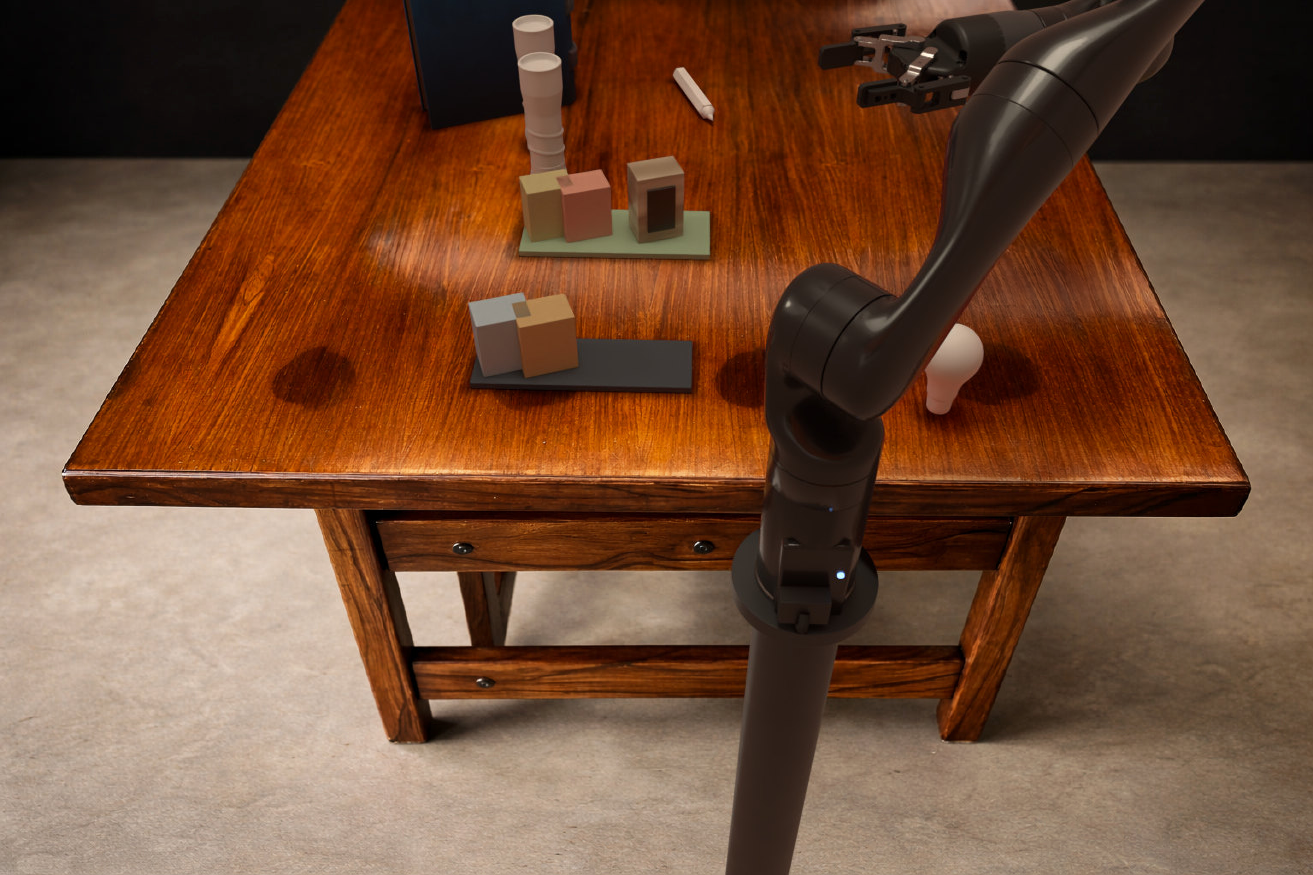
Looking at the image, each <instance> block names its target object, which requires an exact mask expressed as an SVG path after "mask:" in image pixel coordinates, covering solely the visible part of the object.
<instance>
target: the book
mask: <svg viewBox="0 0 1313 875" xmlns="http://www.w3.org/2000/svg"><path fill="white" fill-rule="evenodd" d="M402 3H403V9H404V15H405V20H406V27H407V31H408V38H409V43H410V50H411V54H412V55H411V56H412V61H413V66H414V71H415V78H416V82H417V84H416V85H417V89H418V95H419V100H420V105H421V110H422V111H423V112H425V111H427V112H428V113H427V114H428V118H429V123H430V128H431V130H432V131H433V130H438V129H444V128H449V127H454V126H459V125H460V126H461V125H466V124H471V123H476V122H477V123H478V122H482V121H488V120H493V119H498V118H503V117H504V118H505V117H510V116H515V115H521V114H525V111H524V106H523V104H522V103H523V97H522V93H521V88H520V78H519V67H518V59H517V55H516V50H515V42H514V32H513V26H512V24H513V22H514V21H515V20H516V19H517V18H520V17H523V16H527V15H542V16H546V17H549V18H550V19H551V20H552V21H553V30H554V44H555V51H554V55H557V56H558V57H559V58H560V59H561V70H562V85H563V89H562V102H561V107H563V106H569V105H571V104H573V103H574V102H575V101H576V99H577V93H576V92H577V91H576V78H575V77H576V76H575V67H576V66H577V65H578V63H579V62H578V46H577V43H576V42H575V41H574V40H573V29H572V14H571V13H572V12H573V11H574V10H575V0H402Z"/></svg>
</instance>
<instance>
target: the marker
mask: <svg viewBox="0 0 1313 875" xmlns="http://www.w3.org/2000/svg"><path fill="white" fill-rule="evenodd" d="M672 77H673V79H674V80H675V82H676V83H677V84H678V86H679V87H680V89H681V90H682V91H683V93H684V94H685V96H686V97H687V98H688V100H689V101H690V102H691V104H692V105H693V107H694V108H695V109H696V111H697V112H698V114H699V115H700V116H701V117H702V119H708V120H709V121H712V122H714V113H715V111H716V109H715V108H714V106H713V104H712V103H711V101H710V100H709V98H708V97H707V96H706V94H704V92H703V91H702V89H700V87H699V86H698V84H697V83H696V81H694V79H693V78H692V76H691V75H690V74H689V72H688V71H687V69H686V68H685V67H684V66H683V67H676V68H675V69H674V71H673V74H672Z"/></svg>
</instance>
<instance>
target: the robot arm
mask: <svg viewBox="0 0 1313 875" xmlns="http://www.w3.org/2000/svg"><path fill="white" fill-rule="evenodd" d="M1204 2H1205V0H1069V1H1066V2H1062V3H1060V4H1056V5H1051V6H1045V7H1037V8H1032V9H1023V10H1014V9H1013V10H1008V9H1007V10H1000V11H999V10H998V11H993V12H985V13H979V14H972V15H966V16H959V17H952V18H946V19H944V20H941V21H939V23H938V24H937V25H936V26H934V28H933V30H932V31H931V32H930V33H929V34H928V35H927V36H919V35H909V36H908V35H907V34H906V33H907V30H908V29H907V28H908V25H907V24H905V23H903V22H897V23H889V24H881V25H873V26H865V27H864V26H863V27H856V28H852V29H851V31H850V32H851V33H850V39H849V41H846V42H839V43H831V44H825V45H822V46H821V47H820V48H819V51H818V57H817V58H818V59H817V66H818V67H819V68H820V69H821V70H823V71H827V70H828V71H829V70H835V69H841V68H847V67H853V66H860V67H861V66H862V67H869V68H872V71H873V72H874V73H878V74H884V75H891V76H892V77H890V78H885V79H879V80H872V81H866V82H862V83H860V84H859V86H858V87H857V92H856V100H855V102H856V105H857V106H858V107H859V108H861V109H867V108H873V107H880V106H885V105H891V104H895V105H896V106H898V107H900V108H901V107H902V108H903V107H910V110H909V112H910V113H912V114H913V115H923V114H927V113H931V112H937V111H941V110H946V109H951V108H956V107H960V106H962V107H961V109H960V110H959V112H958V113H957V115H956V116H955V118H954V119H953V121H952V123H951V125H950V128H949V132H948V135H947V139H946V144H945V150H944V158H943V167H942V170H943V171H942V180H941V194H940V208H939V216H938V222H937V226H936V227H937V228H936V232H935V236H934V240H933V242H932V245H931V248H930V250H929V251H928V254H927V256H926V259H924V262H923V263H922V265H921V267H920V268H919V270H918V272H917V273H916V275H915V276H914V278H913V279H912V280H911V281H910V283H909V285H908V286H907V288H905V290H903V292H902V293H901V294H900V295H899V296H897V295H896V294H894V293H892V292H890V291H888V290H887V289H885V288H883V287H882V286H879V285H878V284H876V283H874V282H873V281H871V280H869V279H867V278H866V277H864V276H862V275H860V274H859V273H857V272H855V271H853V270H851V269H850V268H848V267H846V266H843V265H841V264H838V263H836V262H835V263H834V262H820V263H817V264H813V265H811V266H809V267H807V268H805V269H804V270H803V271H801V272H800V273H799V274H798V275H796V276H795V277H794V278H793V279H792V280H791V281H790V283H789V284H788V285H787V286H786V288H785V289H784V291H783V292H782V294H781V296H780V297H779V299H778V300H777V303H776V305H775V307H774V309H773V312H772V315H771V319H770V322H769V325H768V331H767V335H766V342H765V350H764V352H765V353H764V378H763V379H764V382H763V390H764V391H763V420H764V424H765V427H766V429H767V431H768V434H769V444H768V452H767V461H766V470H765V479H764V489H763V498H762V507H761V516H760V526H759V528H760V533H759V544H758V554H757V558H756V563H755V577H756V581H757V584H758V586H759V588H760V590H761V591H762V593H763V594H764V595H765V596H766V597H767V598H768V599H769V600H770V601H771V602H772V603H773V606H774V612H775V613H777V616H778V623H794V625H795V628H796V630H797V631H798V632H799V633H802V634H803V633H805V632H807V630H808V627H809V624H828V621H829V616H830V615H841V614H842V610H843V605H844V602H845V601H846V600H847V599H848V598H849V597H850V595H851V593H852V591H853V589H854V585H855V580H856V571H857V566H858V561H859V556H860V551H861V547H862V546H863V542H864V538H865V533H866V528H867V527H866V526H867V523H868V519H869V514H870V510H871V504H872V501H873V500H872V499H873V496H874V492H875V486H876V482H877V478H878V474H879V468H880V464H881V461H882V460H881V459H882V455H883V451H884V447H885V441H886V431H885V430H886V429H885V424H884V421H883V418H882V417H883V416H884V415H886V414H888V412H890V411H891V410H892V409H893V408H895V407H896V405H897V404H899V403H900V402H901V401H902V400H903V399H904V397H905V396H906V395H907V394H908V393H909V391H910V390H911V389H912V387H913V386H914V385H915V384H916V383H917V381H919V379H920V377H921V376H922V375H923V373H924V372H925V369H926V367H927V366H928V364H929V363H930V361H931V360H932V359H933V357H934V356H935V354H936V353H937V351H938V350H939V348H940V347H941V345H942V344H943V342H944V341H945V339H946V338H947V336H948V334H949V333H950V331H951V330H952V328H953V327H954V325H955V324H957V323H958V321H959V320H960V318H961V317H962V315H963V314H964V312H965V310H966V309H967V308H968V306H969V304H970V303H971V302H972V301H973V298H974V297H975V295H976V294H977V293H978V291H979V290H980V288H981V287H982V285H983V284H984V283H985V281H986V279H987V278H988V277H989V275H990V274H991V272H992V271H993V270H994V268H995V266H996V265H998V263H999V261H1000V260H1001V258H1002V257H1003V256H1004V255H1005V253H1006V252H1007V251H1008V249H1009V248H1010V247H1011V245H1013V243H1014V242H1015V240H1016V239H1017V238H1018V236H1020V234H1021V233H1022V232H1023V230H1024V229H1025V227H1026V226H1027V225H1028V224H1029V222H1031V220H1032V219H1033V218H1034V216H1035V215H1036V214H1037V213H1038V212H1039V210H1040V209H1041V208H1042V207H1043V206H1044V205H1045V203H1046V202H1047V200H1049V199H1050V197H1051V196H1052V195H1053V194H1054V193H1055V191H1057V189H1058V188H1059V187H1060V185H1062V183H1063V182H1064V181H1065V179H1066V178H1067V177H1068V176H1069V174H1070V173H1071V172H1072V171H1073V169H1074V168H1075V167H1076V166H1077V164H1078V163H1079V162H1080V160H1081V159H1082V158H1083V157H1084V155H1085V154H1086V153H1087V152H1088V151H1089V149H1090V148H1091V147H1092V145H1093V144H1094V143H1095V141H1096V140H1097V139H1098V137H1099V136H1100V135H1101V134H1102V132H1103V130H1105V128H1106V126H1107V125H1108V124H1109V122H1111V119H1113V117H1114V115H1115V114H1116V113H1117V112H1118V110H1119V108H1121V106H1122V104H1123V103H1124V102H1125V100H1126V99H1127V98H1128V96H1129V95H1130V93H1131V92H1132V91H1133V89H1134V88H1135V87H1136V85H1137V84H1141V83H1142V82H1145V81H1146V80H1148V79H1150V78H1152V77H1153V76H1154V75H1156V74H1157V73H1158V72H1159V71H1160V70H1161V69H1162V68H1163V67H1164V65H1166V63H1167V62H1168V60H1169V58H1170V56H1171V54H1172V51H1173V49H1174V48H1173V47H1174V41H1175V35H1176V34H1177V33H1178V32H1179V31H1180V29H1181V28H1182V27H1183V26H1184V25H1185V23H1187V21H1189V19H1190V18H1191V17H1192V15H1193V14H1194V13H1195V12H1196V11H1197V10H1198V9H1199V8H1200V6H1201V5H1202V4H1203V3H1204ZM885 54H888V56H887V62H885V61H884V55H885ZM871 55H872V56H871ZM873 55H874V57H873ZM931 93H932V94H931ZM928 94H931V98H930V99H929V100H926V98H927V95H928ZM968 97H969V98H968Z"/></svg>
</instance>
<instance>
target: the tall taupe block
mask: <svg viewBox="0 0 1313 875" xmlns="http://www.w3.org/2000/svg"><path fill="white" fill-rule="evenodd" d="M626 171H627V172H626V173H627V176H626V177H627V210H628V216H629V227H630V229H631V231H632V232H633V234H634V236H635V238H636V240H637V241H638V243H639V244H640V243H645V242H651V241H656V240H662V239H667V238H672V237H678V236H683V222H684V211H685V171H684V170H683V168H682V167H681V165H680V164H679V162H678V161H677V160H676V158H675V156H674V155H668V156H663V157H657V158H650V159H645V160H639V161H638V160H637V161H633V162H627V163H626Z"/></svg>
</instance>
